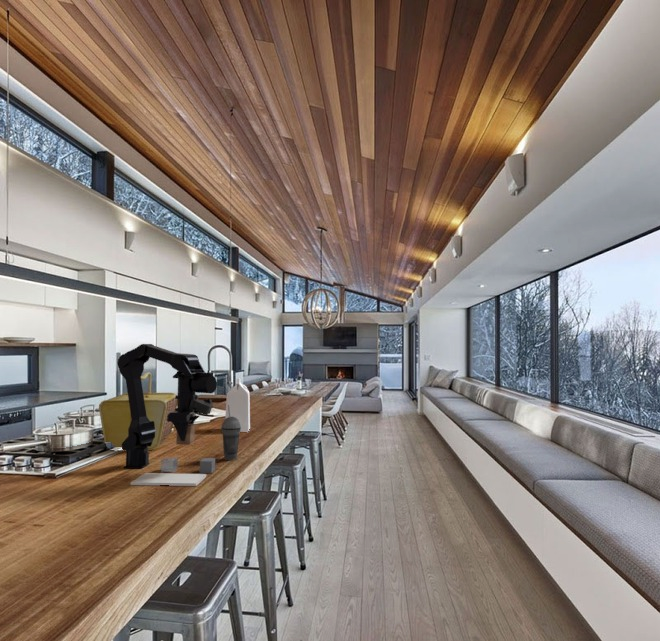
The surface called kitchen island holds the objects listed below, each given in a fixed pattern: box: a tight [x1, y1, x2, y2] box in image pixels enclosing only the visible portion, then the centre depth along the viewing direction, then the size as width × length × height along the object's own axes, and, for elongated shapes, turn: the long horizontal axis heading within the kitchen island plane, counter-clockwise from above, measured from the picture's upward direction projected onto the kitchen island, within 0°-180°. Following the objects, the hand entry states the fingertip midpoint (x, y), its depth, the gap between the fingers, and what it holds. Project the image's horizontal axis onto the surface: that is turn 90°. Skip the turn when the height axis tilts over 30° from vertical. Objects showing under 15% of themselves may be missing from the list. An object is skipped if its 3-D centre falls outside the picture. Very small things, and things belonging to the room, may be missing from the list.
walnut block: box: [176, 423, 196, 446], centre depth 151 cm, size 4×4×6 cm
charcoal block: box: [199, 457, 216, 474], centre depth 152 cm, size 4×4×4 cm
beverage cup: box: [220, 405, 241, 461], centre depth 170 cm, size 7×7×20 cm
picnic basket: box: [98, 371, 178, 451], centre depth 194 cm, size 29×26×30 cm
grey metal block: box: [160, 457, 178, 473], centre depth 153 cm, size 4×4×4 cm
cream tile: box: [130, 472, 207, 487], centre depth 141 cm, size 20×10×1 cm, turn 88°
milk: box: [224, 377, 251, 433], centre depth 227 cm, size 12×12×26 cm
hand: (185, 439), depth 151 cm, fingers closed on walnut block, 4 cm apart
